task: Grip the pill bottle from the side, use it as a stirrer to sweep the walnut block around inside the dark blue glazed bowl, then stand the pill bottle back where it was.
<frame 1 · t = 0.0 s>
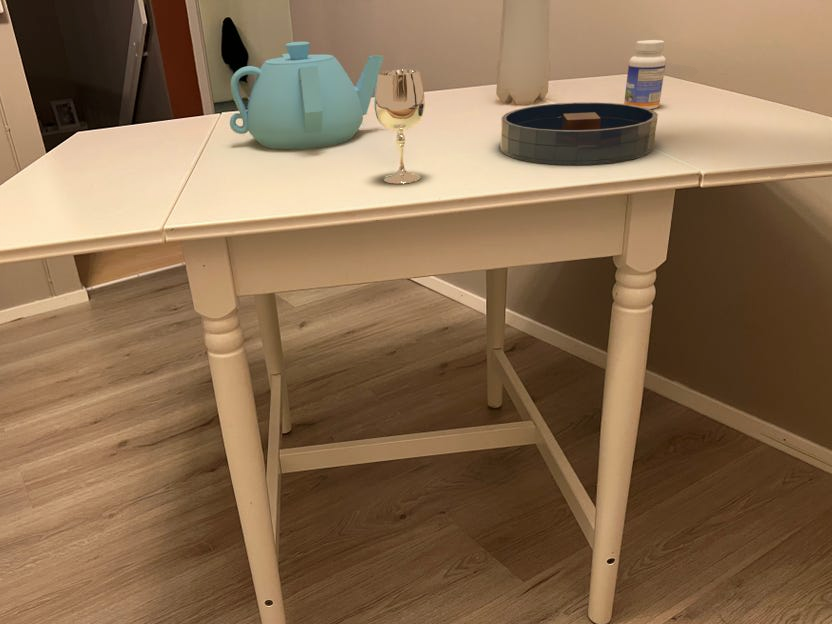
teapot: (310, 139, 110), on the table
bottle: (521, 102, 126), on the table
wineglass: (402, 180, 85), on the table
pill bottle: (641, 108, 114), on the table
block: (578, 148, 90), resting on bowl
bowl: (575, 147, 93), on the table
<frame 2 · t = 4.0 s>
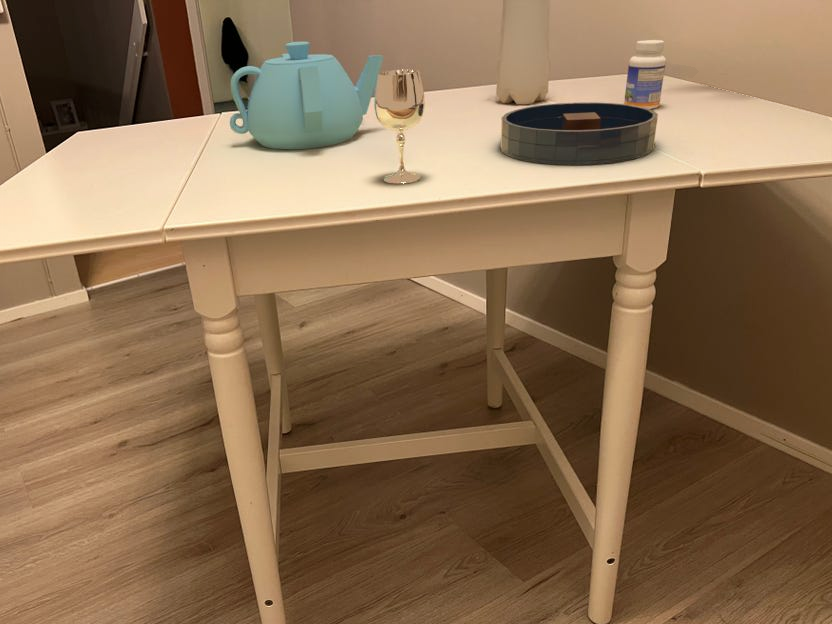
nothing on the table moved.
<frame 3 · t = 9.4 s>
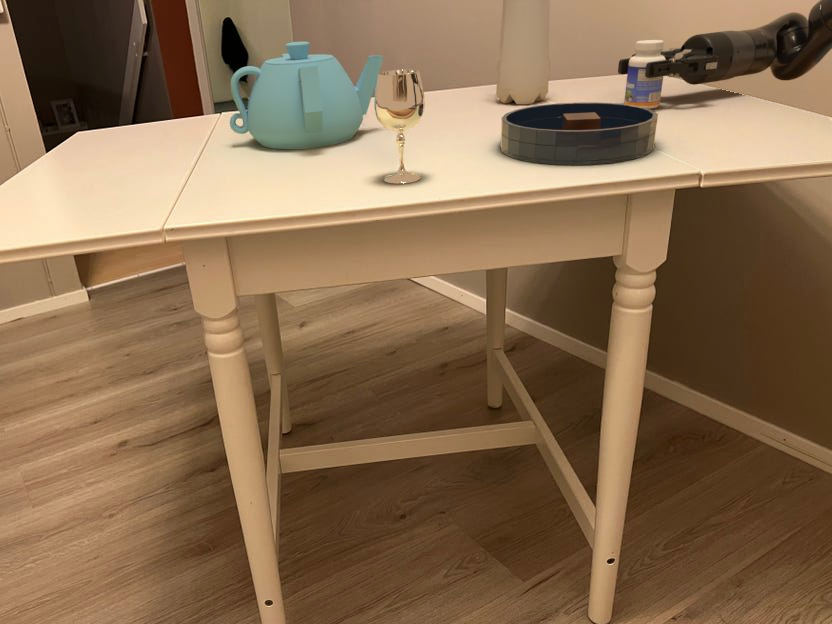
hand: (633, 68, 110), 6 cm above the table, tool horizontal, fingers closed on pill bottle, 5 cm apart
pill bottle: (641, 108, 114), on the table, touching gripper
everything else where it was.
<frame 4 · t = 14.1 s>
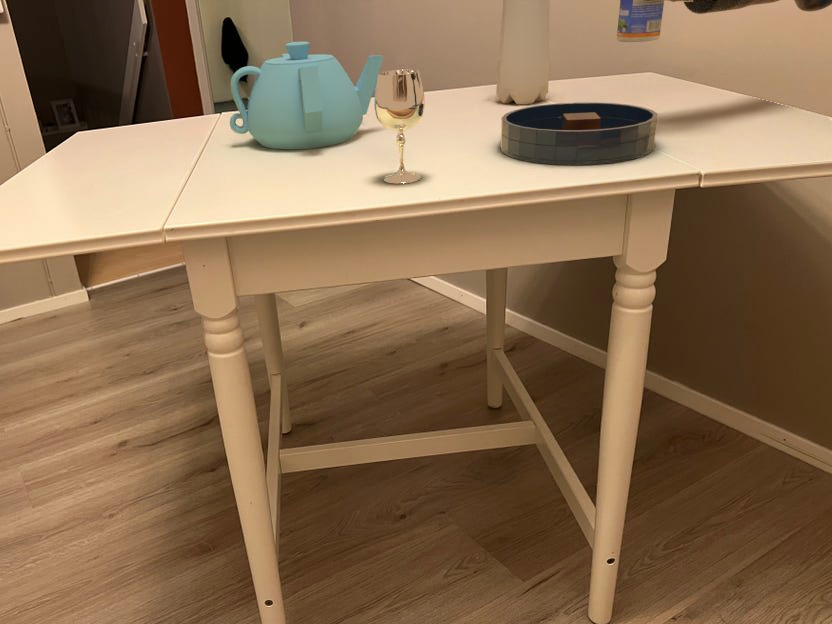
pill bottle: (637, 41, 94), point 12 cm above the table, touching gripper
everything else where it was.
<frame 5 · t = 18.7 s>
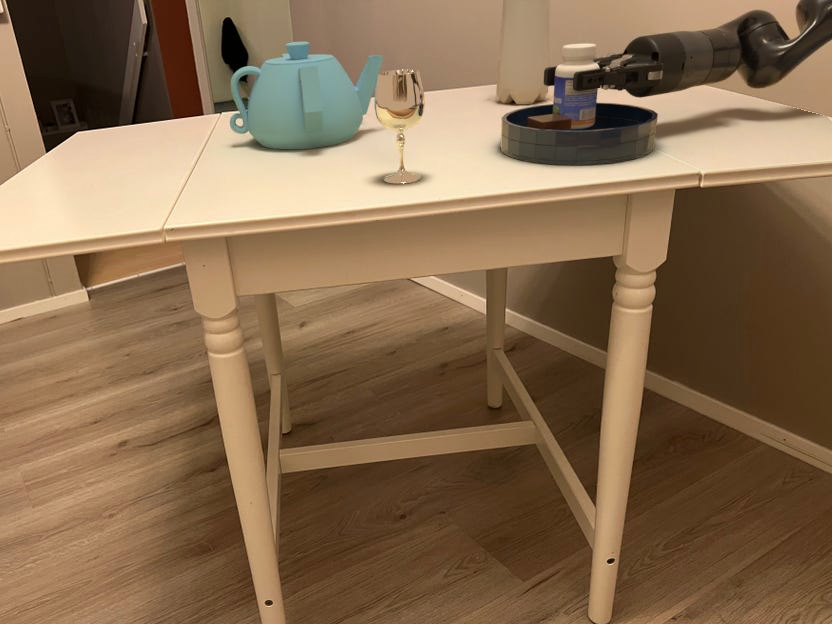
hand: (560, 79, 89), 9 cm above the table, tool horizontal, fingers closed on pill bottle, 5 cm apart
pill bottle: (573, 127, 92), point 2 cm above the table, touching gripper
block: (547, 150, 91), point 1 cm above the table, touching bowl
everything else where it was.
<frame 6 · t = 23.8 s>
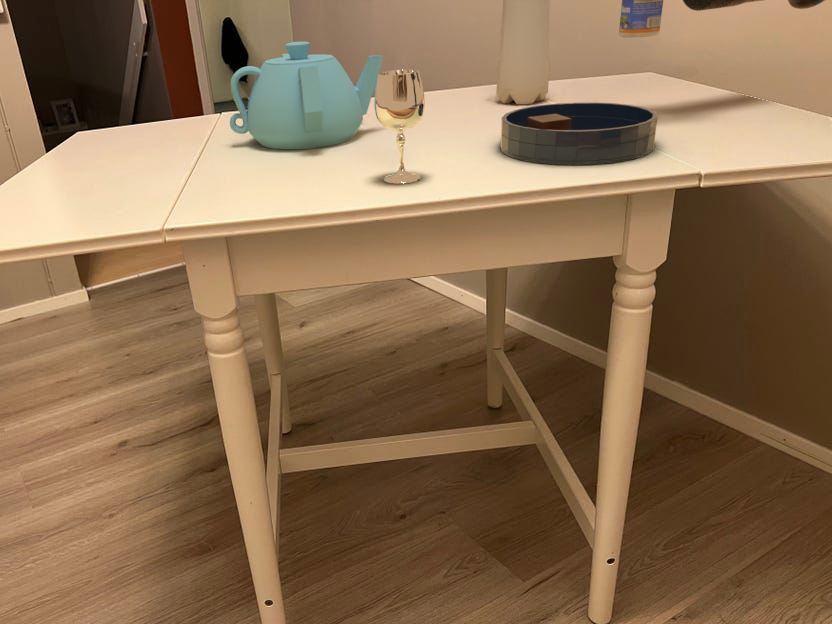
pill bottle: (638, 37, 100), point 11 cm above the table, touching gripper
everything else where it was.
when the fingers open (6 cm above the table, at t = 28.2 s): pill bottle stays where it is, on the table.
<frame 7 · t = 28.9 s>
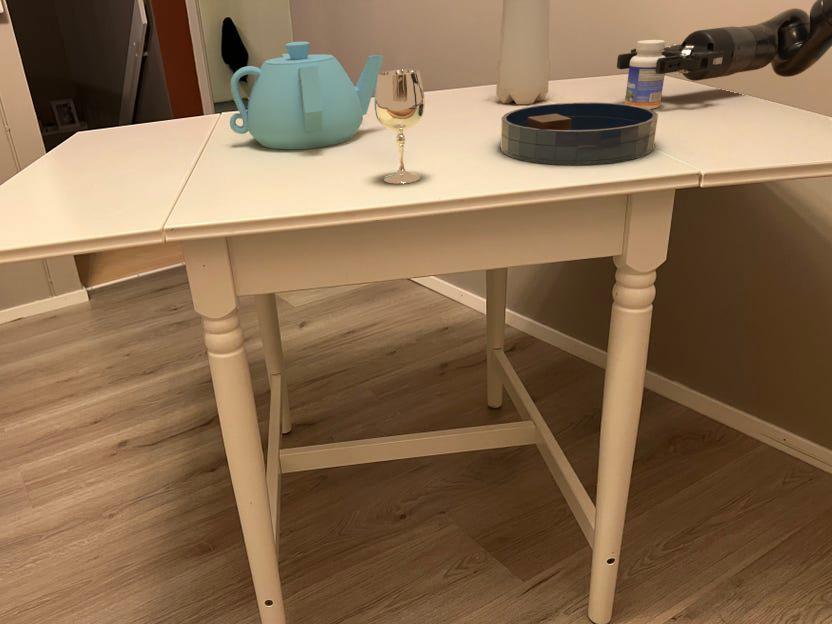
hand: (637, 64, 110), 7 cm above the table, tool horizontal, fingers open, 8 cm apart
pill bottle: (642, 108, 114), on the table
everything else where it was.
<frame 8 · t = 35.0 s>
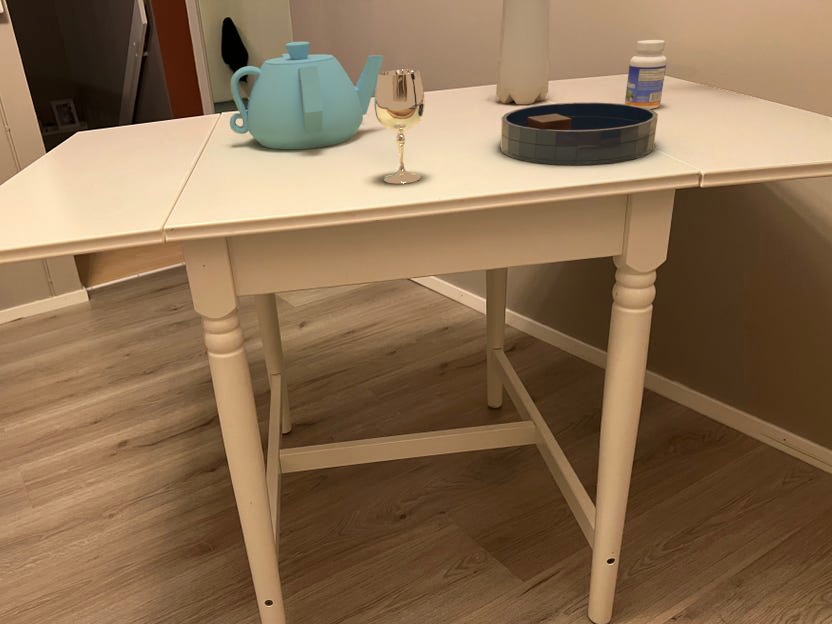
nothing on the table moved.
at the end: block moved 4.0 cm from its start; block inside the target area in the bowl (5.2 cm from its centre), point 0.5 cm above the bowl's base; pill bottle tilted 0° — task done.
